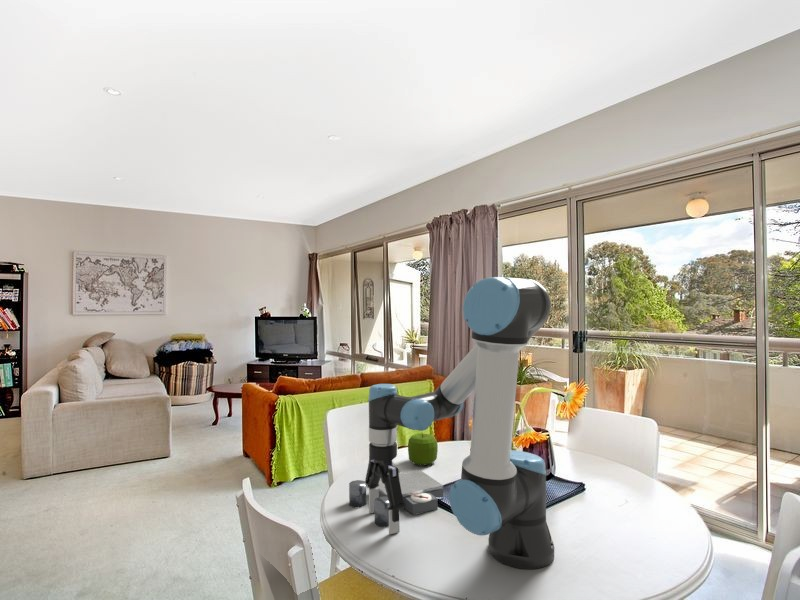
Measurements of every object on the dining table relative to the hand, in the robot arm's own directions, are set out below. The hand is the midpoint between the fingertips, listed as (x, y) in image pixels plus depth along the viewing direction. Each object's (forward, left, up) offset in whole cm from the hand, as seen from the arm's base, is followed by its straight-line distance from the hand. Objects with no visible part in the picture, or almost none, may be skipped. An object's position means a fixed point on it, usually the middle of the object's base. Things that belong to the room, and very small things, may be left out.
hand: (383, 521), depth 123 cm
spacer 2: (0, 0, 0) cm, 0 cm away
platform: (+12, -13, +3) cm, 18 cm away
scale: (+9, -13, 0) cm, 16 cm away
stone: (+28, -13, -1) cm, 31 cm away
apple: (+35, -32, 0) cm, 47 cm away
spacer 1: (+14, +2, 0) cm, 14 cm away
